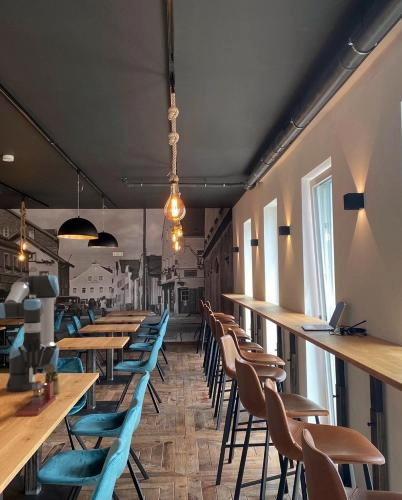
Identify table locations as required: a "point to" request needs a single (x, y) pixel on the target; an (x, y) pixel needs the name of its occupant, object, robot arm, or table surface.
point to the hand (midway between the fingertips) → (31, 381)
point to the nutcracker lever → (33, 386)
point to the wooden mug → (51, 378)
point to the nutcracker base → (38, 407)
